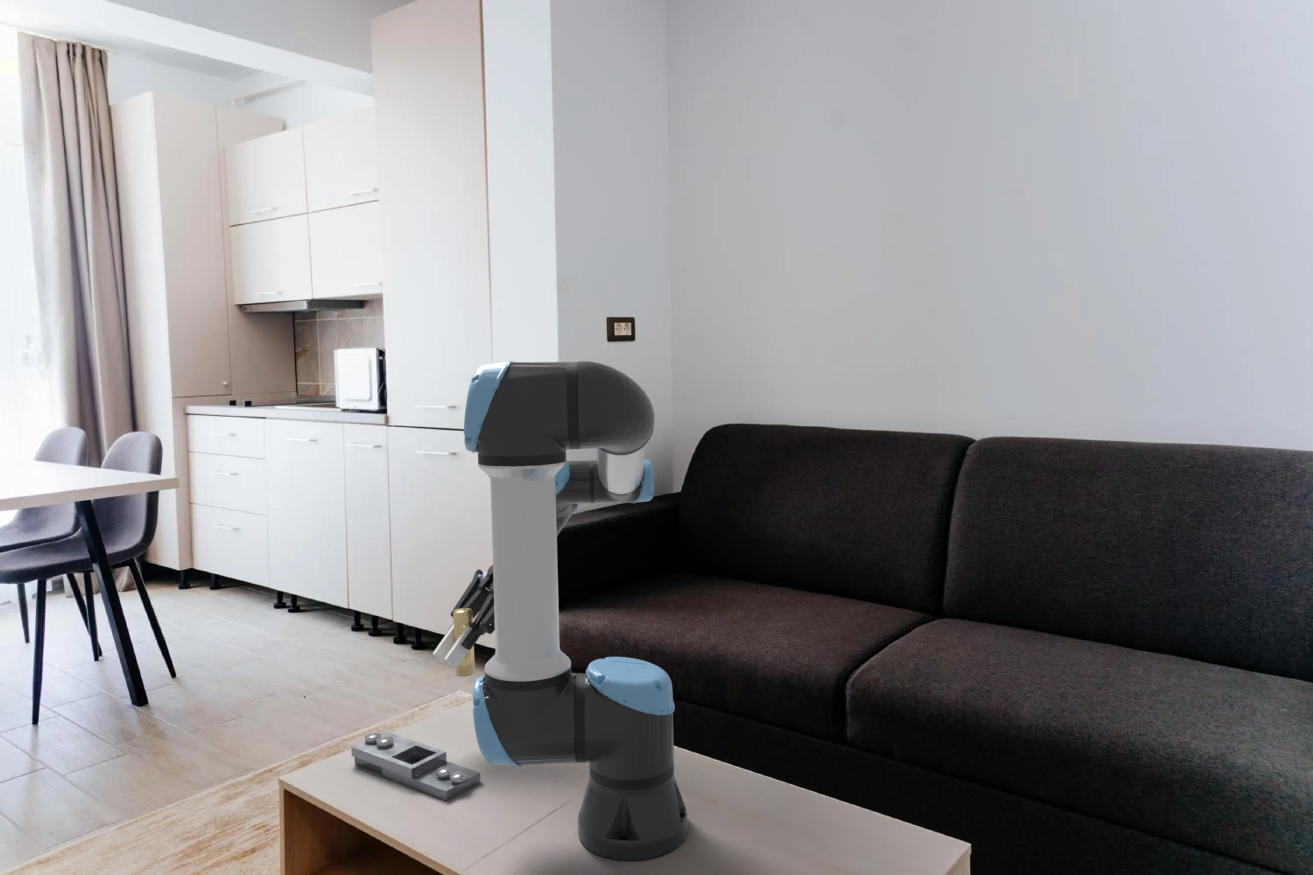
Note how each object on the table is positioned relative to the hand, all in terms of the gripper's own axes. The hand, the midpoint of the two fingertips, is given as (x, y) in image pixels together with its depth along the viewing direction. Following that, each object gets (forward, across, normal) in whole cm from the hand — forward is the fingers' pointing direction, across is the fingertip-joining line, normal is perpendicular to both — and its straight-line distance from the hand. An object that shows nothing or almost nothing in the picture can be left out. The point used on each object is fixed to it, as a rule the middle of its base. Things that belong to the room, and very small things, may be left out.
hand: (444, 660), depth 148 cm
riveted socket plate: (+17, -5, -4) cm, 18 cm away
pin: (-1, 0, -5) cm, 5 cm away
